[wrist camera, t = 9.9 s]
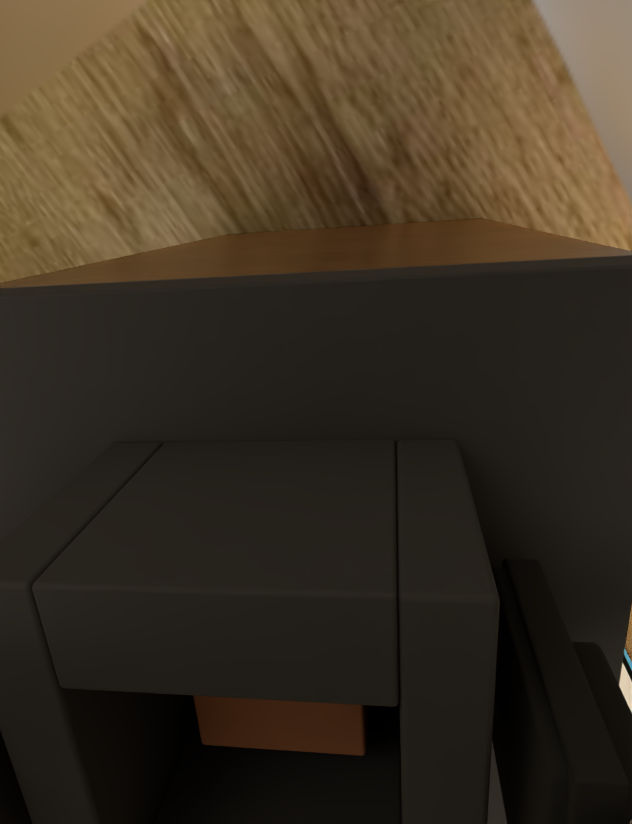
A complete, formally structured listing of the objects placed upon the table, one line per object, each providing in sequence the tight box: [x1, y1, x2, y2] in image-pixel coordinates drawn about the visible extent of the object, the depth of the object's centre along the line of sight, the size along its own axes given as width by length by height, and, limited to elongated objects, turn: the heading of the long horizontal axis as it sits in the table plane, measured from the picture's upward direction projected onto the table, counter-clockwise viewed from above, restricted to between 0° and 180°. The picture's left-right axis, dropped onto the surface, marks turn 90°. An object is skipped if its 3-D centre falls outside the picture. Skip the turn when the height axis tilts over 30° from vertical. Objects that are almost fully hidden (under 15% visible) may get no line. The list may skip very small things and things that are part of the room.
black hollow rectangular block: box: [0, 440, 500, 824], centre depth 9 cm, size 7×6×4 cm
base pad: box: [0, 256, 632, 824], centre depth 10 cm, size 12×12×3 cm
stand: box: [0, 218, 632, 288], centre depth 20 cm, size 12×12×18 cm
